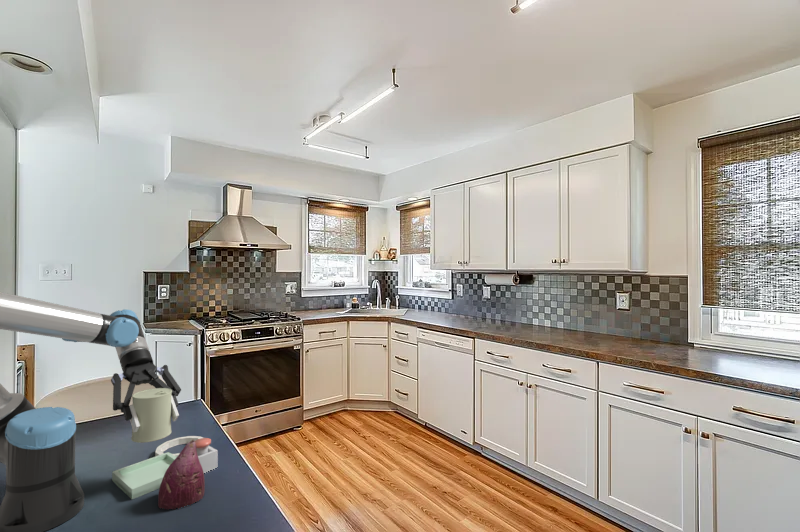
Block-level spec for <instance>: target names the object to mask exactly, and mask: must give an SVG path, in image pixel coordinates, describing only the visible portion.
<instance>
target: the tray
mask: <svg viewBox="0 0 800 532" xmlns="http://www.w3.org/2000/svg"><path fill="white" fill-rule="evenodd" d="M163 453H164V452H163ZM173 454H174V453H171V452H169V451H168V452H165V453H164V454H161V455H158V456H156V457H155V456H153V457H150V458H147V459H144V460H142V461H139V462H136V463H132V464H131V465H127V466H124V467H121V468H118V469H116V470H113V471H112V472H111V482H113V484H114V485H116V486H117V487H118V488H119V489H120V490H121V491H122V492H123V493H124V494H125V495H127V497H128V498H130V499H131V500H134V499H137V498H140V497H142V496H144V495H147V494H149V493H152V492H154V491H157V490H159V489H160V485H161V482H162V479H163V477H164V474H165V472H166V471H167V469H168V467H169V466H170V465H171V463H172V462H173V461H174V460H175V459H176V458H177V457H176V456H174V455H173Z"/></svg>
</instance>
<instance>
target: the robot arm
mask: <svg viewBox="0 0 800 532" xmlns="http://www.w3.org/2000/svg"><path fill="white" fill-rule="evenodd" d="M0 330H4V331H11V332H18V333H25V334H30V335H37V336H42V337H45V336H46V337H50V338H56V339H57V338H58V339H61V340H62V341H63V342H64V341H65V342H73V343H79V342H80V343H89V344H97V345H103V346H109V347H113V348H115V350H116V354H117V358H118V360H119V364H120V367H121V369H122V370H121V371H122V373H119V374H118V372H115V373H113V375H112V377H111V379H110V382H111V384H112V386H113V387H112V388H113V389H112V390H113V391H112V410H113V411H115V412H116V411H119V410H120V412H121V413H123V416H124V417H123V418H124V419H125V420H126V422H128V421H129V422H130V425H131V427H132V428H131V430H132V429H133V432H137V431H138V429H139V427H140V424H139V421H138V418H137V415H136V411H135V408H134V406H133V403H132V404H130V403H131V402H132V401H131V400H132V396H133V394H134V391H135V388H136V386H140V385H144V384H145V385H146V384H149V385H150V386H153V387H154V389H155V388H168V389H171V390H172V395H171V421H172V422H176V421H177V420H178V418H179V416H180V414H179V411H178V407H179V401H178V398H177V397H178V396H179V395H180V393H181V391H182V388H181V387H180V385H179V384H178V382H177V381H176V379H175V378H174V377H173V375H172V373H170V371H169V366H168V365H167V364H164V365H163V366H159V367H158V366H157V365H155V363H154V360H153V357H152V354H151V351H150V347H149V346H148V343H147V340H146V338H145V335H144V332H143V328H142V326H141V321H140V320H139V318H138V316H137V313H136V312H135V311H134V310H132V309H125V308H123V309H122V310H116V311H114V312H112V313H110V314H105V313H99V312H95V311H90V310H86V309H80V308H76V307H72V306H67V305H62V304H58V303H54V302H48V301H43V300H38V299H34V298H30V297H24V296H20V295H16V294H11V293H8V292H7V293H6V292H1V291H0ZM157 373H158V374H159V375H158V374H157ZM159 376H160V377H161V378H162V379H161V378H160V377H159ZM123 379H124V380H126V381H128V382H129V384H128V386H127V391H126V394H125V397H124V399H123V402H122V381H123ZM76 431H77V423H76V417H75V413H74V412H73V411H72V410H70V409H68V408H66V407H61V406H56V407H53V406H44V407H38V408H36V407H35V406H34V405H33V404H32V403H31V402H30V401H29V400H28V399H27V397H26V396H25V395H24V394H22V393H21V392H11V393H10V392H9V391H8V390H7V388H5V387H4V385H2V384H1V383H0V463H1V464H3V465H5V493H4V494H5V495H4V497H3V498H2V501H1V503H0V532H46V531H49V530H51V529H53V528H56V527H59V526H61V525H62V524H64V523H66V522H68V521H70V520H71V519H72V518H74V517H75V516H76V515H77V514H79V513H80V512H81V510H82V509H83V507H84V506H85V493H84V490H83V488H82V487H81V484H80V481H79V479H78V477H77V475H76V463H75V462H76Z"/></svg>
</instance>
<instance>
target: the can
mask: <svg viewBox="0 0 800 532" xmlns="http://www.w3.org/2000/svg"><path fill="white" fill-rule="evenodd" d="M171 395H172V390H171V389H168V388H155V387H154V388H150V389H145V390H139V391H138V392H137V391H136V392H135V393H133V394H132V397H131V400H132V404H133V406H134V408H135V411H136V415H137V418H138V421H139V424H140V427H139V429H138V431H137V432H133V429H132V428H131V437H130V439H131V442H133V443H143V444H144V443H151V442H157V441H159V440H160V441H161V440H163V439H164V438H165V439H166V438H167V437H169V436H170V435H171V434H172V417H171Z"/></svg>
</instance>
